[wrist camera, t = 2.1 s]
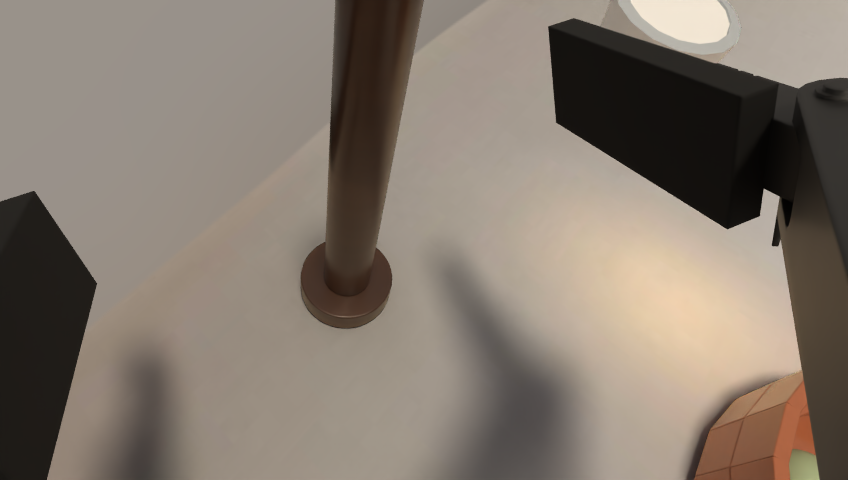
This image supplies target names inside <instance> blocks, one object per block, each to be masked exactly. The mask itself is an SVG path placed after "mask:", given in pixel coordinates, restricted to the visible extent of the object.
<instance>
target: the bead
mask: <svg viewBox="0 0 848 480" xmlns="http://www.w3.org/2000/svg"><path fill="white" fill-rule="evenodd" d="M789 471H790V480H820V479H819V472H818V466H817V460H816V456H815V455H814V454H812V453H809V452H806V451H803V450H799V449H792V453H791V457H790V461H789Z"/></svg>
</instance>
